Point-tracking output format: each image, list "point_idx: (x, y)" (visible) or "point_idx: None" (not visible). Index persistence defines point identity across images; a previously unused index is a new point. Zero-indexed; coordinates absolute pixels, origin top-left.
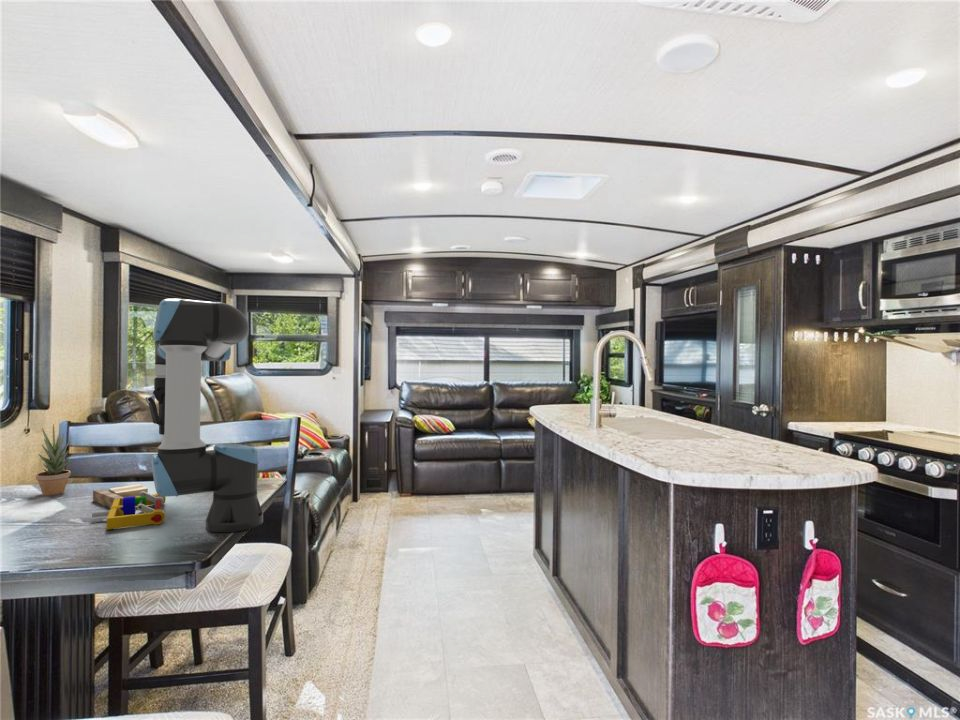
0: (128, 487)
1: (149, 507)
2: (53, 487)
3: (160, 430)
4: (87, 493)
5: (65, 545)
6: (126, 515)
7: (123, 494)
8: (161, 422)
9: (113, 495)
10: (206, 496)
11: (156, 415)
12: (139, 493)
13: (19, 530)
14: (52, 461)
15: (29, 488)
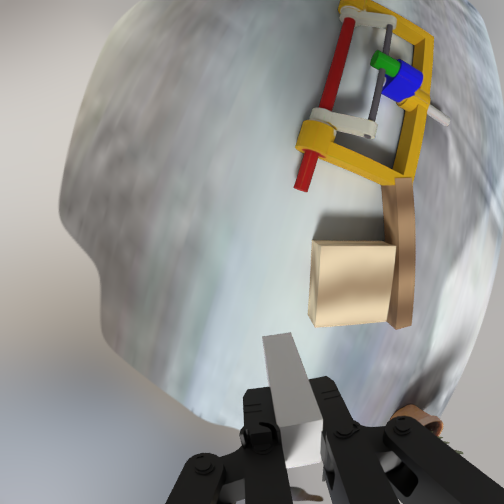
0: (351, 302)
1: (371, 18)
2: (417, 411)
3: (340, 400)
4: (374, 391)
5: (458, 37)
6: (407, 24)
7: (378, 244)
8: (367, 440)
9: (406, 226)
10: (172, 154)
11: (451, 471)
12: (338, 244)
13: (501, 168)
14: None
15: None
